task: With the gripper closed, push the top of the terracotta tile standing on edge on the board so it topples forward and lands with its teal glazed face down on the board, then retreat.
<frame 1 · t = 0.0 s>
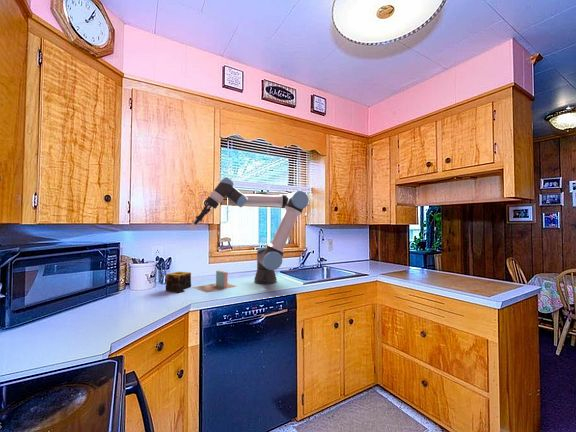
hand: (191, 228, 153), 36 cm above the worktop, tool tilted 35°, fingers open, 13 cm apart
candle: (178, 290, 154), on the worktop
tile: (221, 286, 159), point 1 cm above the worktop, touching board
board: (215, 288, 158), on the worktop
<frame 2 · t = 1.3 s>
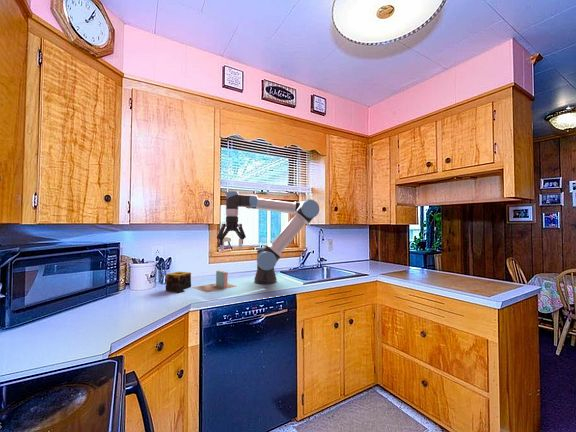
hand: (231, 250, 165), 23 cm above the worktop, tool pointing down, fingers open, 13 cm apart
nothing on the worktop moved.
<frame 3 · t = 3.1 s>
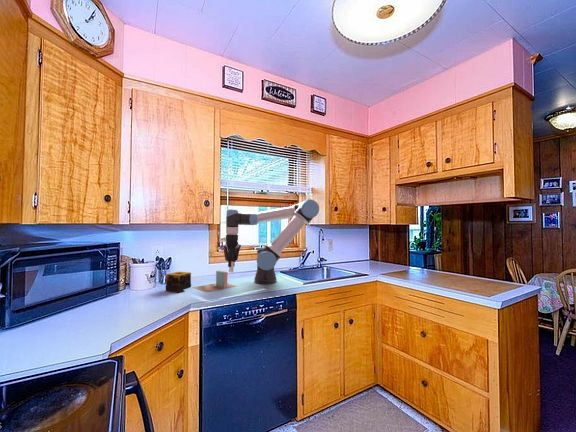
hand: (231, 272, 164), 9 cm above the worktop, tool pointing down, fingers closed
nothing on the worktop moved.
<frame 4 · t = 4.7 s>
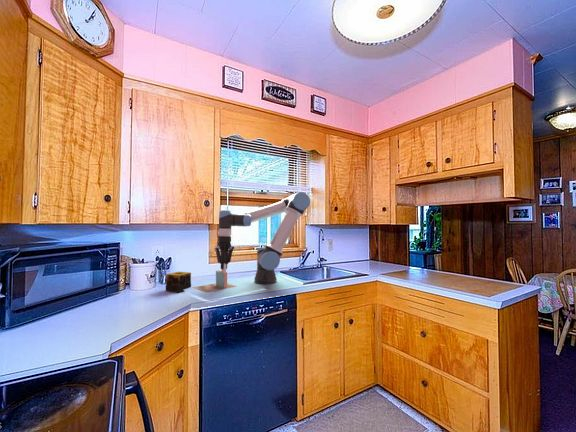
hand: (223, 274, 160), 8 cm above the worktop, tool pointing down, fingers closed
tile: (221, 286, 159), point 1 cm above the worktop, touching board, gripper
everything else where it was.
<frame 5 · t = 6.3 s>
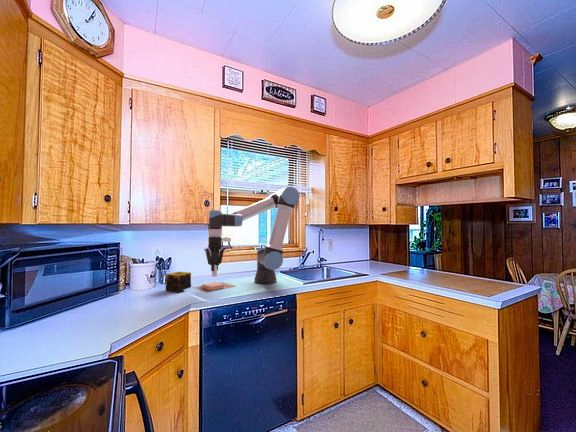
hand: (214, 276, 155), 8 cm above the worktop, tool pointing down, fingers closed
tile: (219, 284, 158), point 2 cm above the worktop, tilted 90°, touching board
everything else where it was.
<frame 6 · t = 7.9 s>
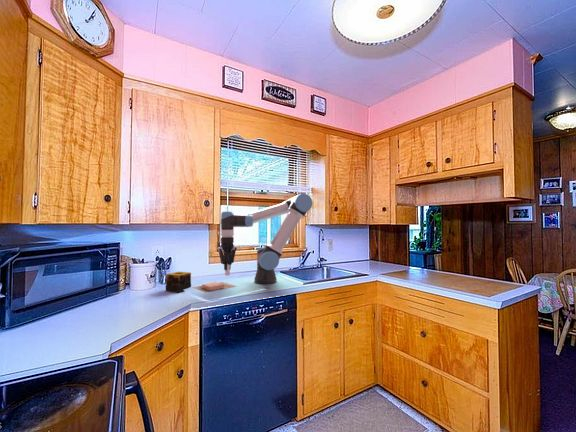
hand: (227, 275, 162), 8 cm above the worktop, tool pointing down, fingers closed
nothing on the worktop moved.
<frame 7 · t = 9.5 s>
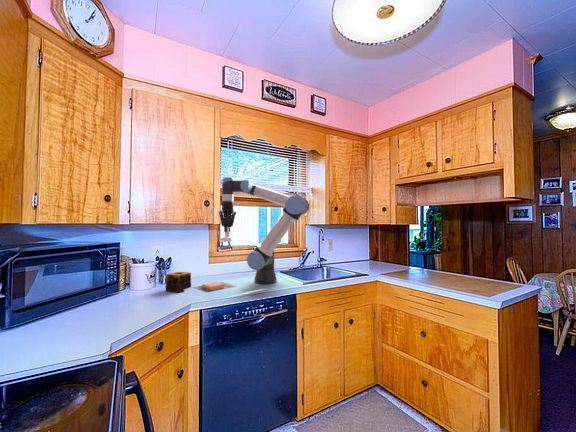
hand: (227, 236, 173), 30 cm above the worktop, tool pointing down, fingers closed
nothing on the worktop moved.
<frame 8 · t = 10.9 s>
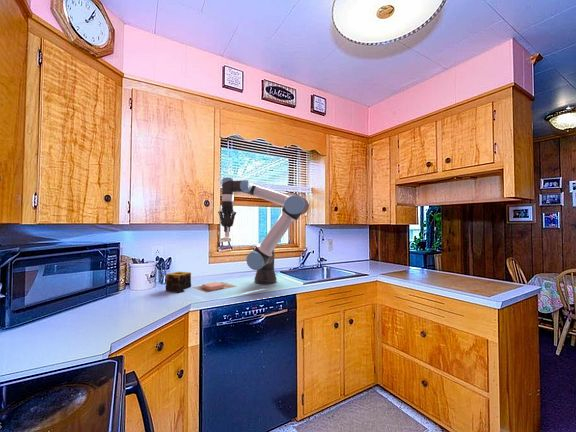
hand: (226, 236, 174), 30 cm above the worktop, tool pointing down, fingers closed
nothing on the worktop moved.
at the end: tile tilted 90°; tile inside the target area on the board (4.3 cm from its centre), point 2.4 cm above the board's base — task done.
